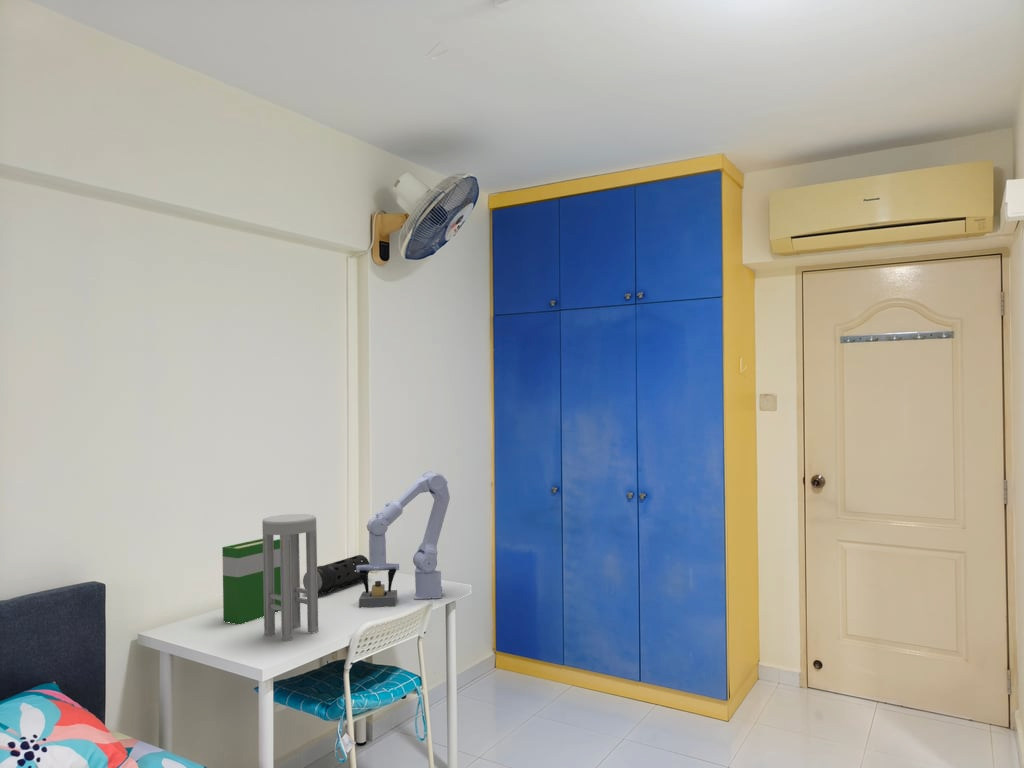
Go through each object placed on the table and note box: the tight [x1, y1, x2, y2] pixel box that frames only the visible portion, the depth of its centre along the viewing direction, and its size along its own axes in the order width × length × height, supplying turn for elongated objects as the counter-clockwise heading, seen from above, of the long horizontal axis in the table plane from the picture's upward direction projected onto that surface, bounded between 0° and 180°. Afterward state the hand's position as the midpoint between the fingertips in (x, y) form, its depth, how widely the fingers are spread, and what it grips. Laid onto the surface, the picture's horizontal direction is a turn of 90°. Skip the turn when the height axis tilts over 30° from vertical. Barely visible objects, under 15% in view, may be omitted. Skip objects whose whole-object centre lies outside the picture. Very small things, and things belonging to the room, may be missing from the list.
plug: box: [371, 580, 386, 597], centre depth 254 cm, size 4×4×8 cm
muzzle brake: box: [302, 554, 370, 595], centre depth 277 cm, size 10×28×10 cm, turn 153°
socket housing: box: [358, 589, 398, 609], centre depth 254 cm, size 12×10×3 cm
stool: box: [261, 513, 319, 642], centre depth 223 cm, size 16×16×35 cm
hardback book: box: [222, 538, 281, 625], centre depth 243 cm, size 18×7×24 cm, turn 150°
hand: (378, 591), depth 254 cm, fingers open, 7 cm apart
